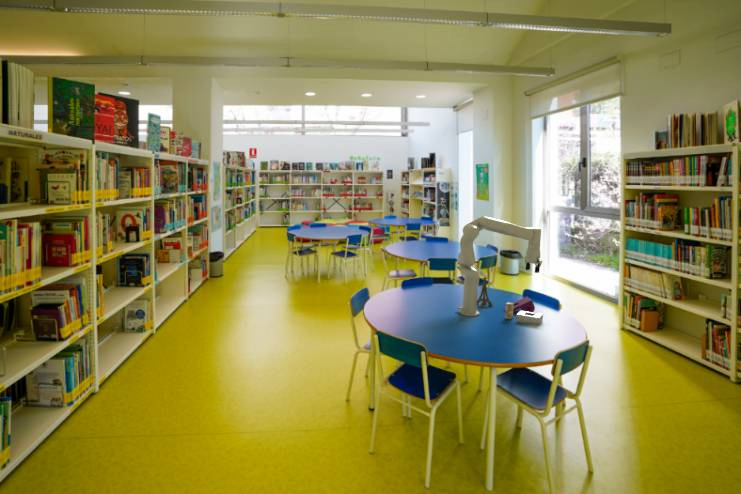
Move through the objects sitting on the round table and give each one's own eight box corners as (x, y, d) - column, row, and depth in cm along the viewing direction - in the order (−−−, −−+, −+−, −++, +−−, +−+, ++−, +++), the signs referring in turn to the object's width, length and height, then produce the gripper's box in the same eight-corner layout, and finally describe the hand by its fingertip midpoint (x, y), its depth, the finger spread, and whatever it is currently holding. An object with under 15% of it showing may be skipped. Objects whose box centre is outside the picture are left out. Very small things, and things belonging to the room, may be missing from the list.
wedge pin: (505, 318, 293) (505, 303, 292) (506, 316, 297) (507, 302, 295) (511, 319, 291) (512, 304, 290) (512, 317, 294) (513, 303, 293)
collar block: (516, 321, 286) (516, 314, 286) (520, 317, 295) (520, 310, 294) (538, 325, 279) (539, 318, 278) (542, 321, 287) (543, 314, 286)
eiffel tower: (473, 304, 325) (474, 270, 321) (484, 302, 330) (486, 269, 326) (482, 308, 316) (484, 273, 312) (494, 306, 320) (496, 272, 316)
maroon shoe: (512, 321, 305) (536, 311, 304) (507, 311, 304) (531, 300, 303) (507, 317, 315) (531, 306, 313) (503, 307, 313) (527, 296, 312)
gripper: (521, 244, 306) (519, 268, 308) (537, 248, 289) (535, 274, 292) (530, 244, 308) (528, 268, 311) (547, 247, 292) (545, 273, 294)
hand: (532, 271), depth 301 cm, fingers open, 9 cm apart
